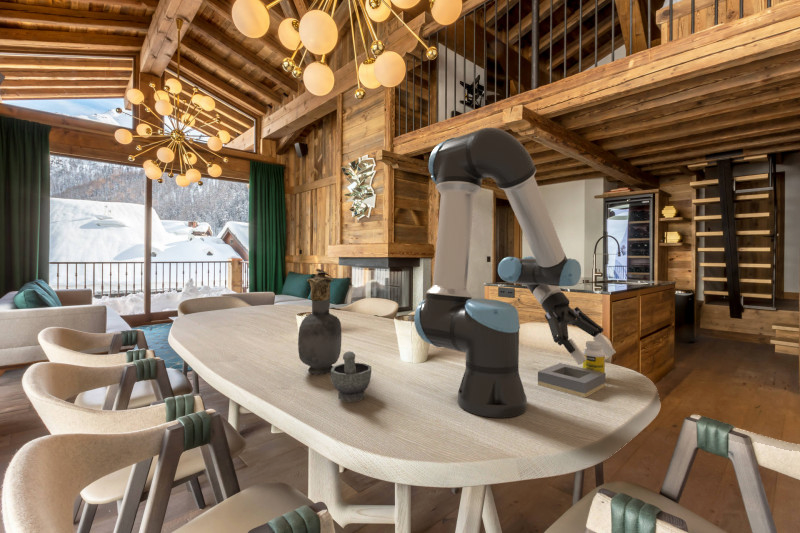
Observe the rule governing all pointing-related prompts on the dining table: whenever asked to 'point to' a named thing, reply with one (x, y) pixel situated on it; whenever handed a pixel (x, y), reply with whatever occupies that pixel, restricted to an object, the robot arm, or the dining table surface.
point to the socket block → (572, 379)
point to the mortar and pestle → (351, 378)
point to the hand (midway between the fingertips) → (598, 358)
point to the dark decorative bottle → (320, 329)
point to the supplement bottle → (594, 356)
